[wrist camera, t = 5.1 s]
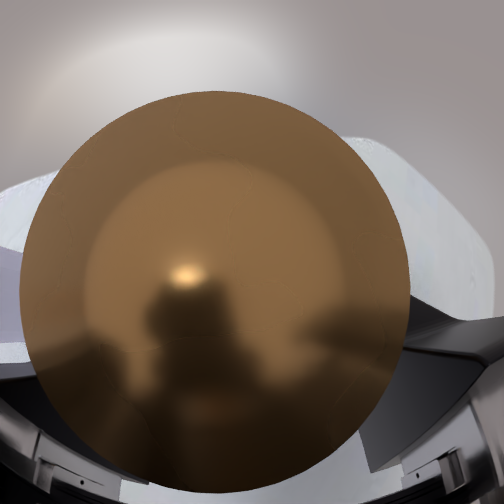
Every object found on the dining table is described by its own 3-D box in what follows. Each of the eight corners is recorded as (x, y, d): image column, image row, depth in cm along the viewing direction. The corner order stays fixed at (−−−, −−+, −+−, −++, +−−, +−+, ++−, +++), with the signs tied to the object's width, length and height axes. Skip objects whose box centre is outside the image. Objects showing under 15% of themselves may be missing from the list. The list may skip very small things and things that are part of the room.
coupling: (319, 314, 15) (476, 323, 2) (243, 367, 15) (144, 522, 2) (264, 240, 16) (232, 49, 4) (191, 293, 16) (-3, 239, 3)
